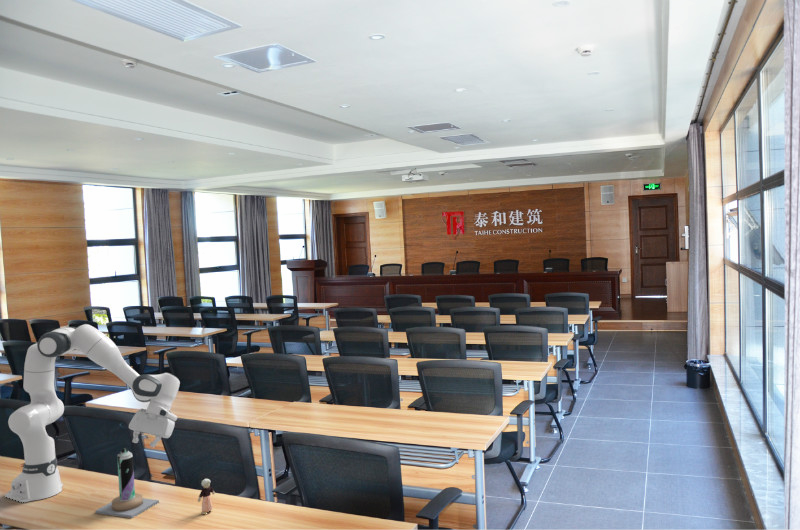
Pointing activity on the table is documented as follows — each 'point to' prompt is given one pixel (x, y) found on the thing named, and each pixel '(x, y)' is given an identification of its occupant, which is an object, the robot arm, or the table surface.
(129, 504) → the display stand
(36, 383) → the robot arm
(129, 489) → the spray can
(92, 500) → the table surface
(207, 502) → the grandmother figurine
